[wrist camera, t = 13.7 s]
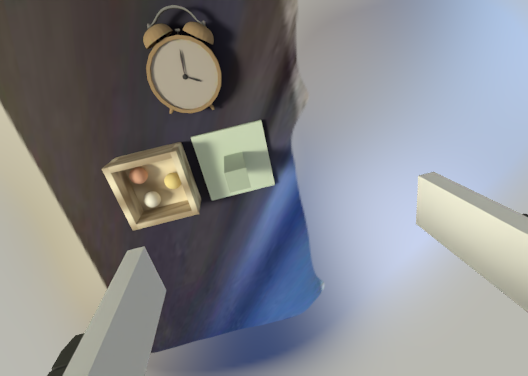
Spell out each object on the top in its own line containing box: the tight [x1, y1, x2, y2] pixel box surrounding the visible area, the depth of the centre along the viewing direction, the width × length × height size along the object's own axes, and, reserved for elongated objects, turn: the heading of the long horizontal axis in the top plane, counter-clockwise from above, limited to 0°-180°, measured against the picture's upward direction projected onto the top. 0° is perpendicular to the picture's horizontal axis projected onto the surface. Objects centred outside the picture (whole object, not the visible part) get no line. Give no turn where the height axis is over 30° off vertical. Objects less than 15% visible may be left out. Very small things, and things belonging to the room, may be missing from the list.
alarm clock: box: [143, 5, 221, 114], centre depth 42 cm, size 11×5×15 cm
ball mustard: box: [164, 173, 181, 189], centre depth 48 cm, size 3×3×3 cm
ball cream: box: [143, 191, 161, 207], centre depth 49 cm, size 3×3×3 cm
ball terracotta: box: [129, 167, 148, 184], centre depth 47 cm, size 3×3×3 cm
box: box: [102, 142, 201, 230], centre depth 48 cm, size 12×12×6 cm
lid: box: [191, 120, 275, 201], centre depth 47 cm, size 13×13×10 cm
